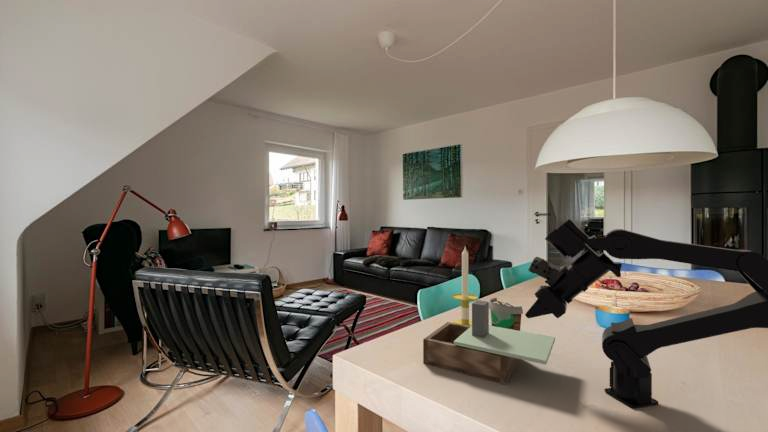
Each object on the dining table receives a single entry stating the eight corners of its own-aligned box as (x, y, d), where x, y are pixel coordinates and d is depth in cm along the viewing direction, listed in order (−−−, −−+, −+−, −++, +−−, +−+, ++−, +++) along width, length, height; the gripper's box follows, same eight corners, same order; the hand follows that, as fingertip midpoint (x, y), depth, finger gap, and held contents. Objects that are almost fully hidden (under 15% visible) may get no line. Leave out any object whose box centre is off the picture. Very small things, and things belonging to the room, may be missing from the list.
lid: (555, 340, 83) (555, 304, 83) (546, 364, 69) (546, 322, 69) (474, 325, 94) (474, 294, 94) (453, 344, 80) (453, 307, 80)
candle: (482, 332, 107) (482, 247, 107) (450, 330, 108) (450, 246, 108) (478, 322, 117) (478, 244, 116) (449, 320, 118) (449, 243, 118)
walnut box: (520, 358, 87) (520, 335, 87) (505, 384, 74) (505, 357, 74) (447, 342, 98) (447, 321, 98) (423, 363, 85) (423, 339, 84)
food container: (479, 329, 109) (479, 298, 109) (495, 327, 111) (495, 297, 111) (506, 343, 97) (506, 308, 97) (523, 340, 99) (523, 306, 99)
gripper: (556, 242, 84) (510, 282, 90) (546, 249, 68) (491, 297, 74) (593, 277, 79) (542, 316, 85) (592, 293, 64) (529, 340, 70)
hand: (526, 316), depth 79 cm, fingers closed
